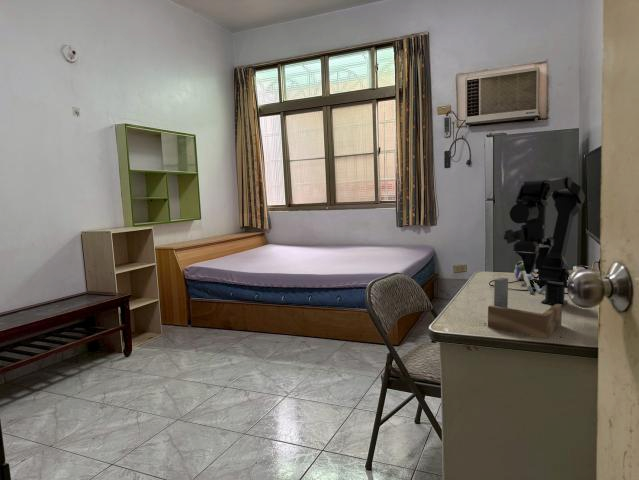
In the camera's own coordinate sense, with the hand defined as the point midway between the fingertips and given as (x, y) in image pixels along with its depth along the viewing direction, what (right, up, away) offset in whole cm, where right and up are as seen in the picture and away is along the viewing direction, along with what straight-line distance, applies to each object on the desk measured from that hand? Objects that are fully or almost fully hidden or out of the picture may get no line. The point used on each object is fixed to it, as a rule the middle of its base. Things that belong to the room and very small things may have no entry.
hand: (533, 271), depth 134 cm
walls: (-8, -15, -11) cm, 20 cm away
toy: (+17, -9, +39) cm, 43 cm away
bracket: (-12, -14, -10) cm, 21 cm away
